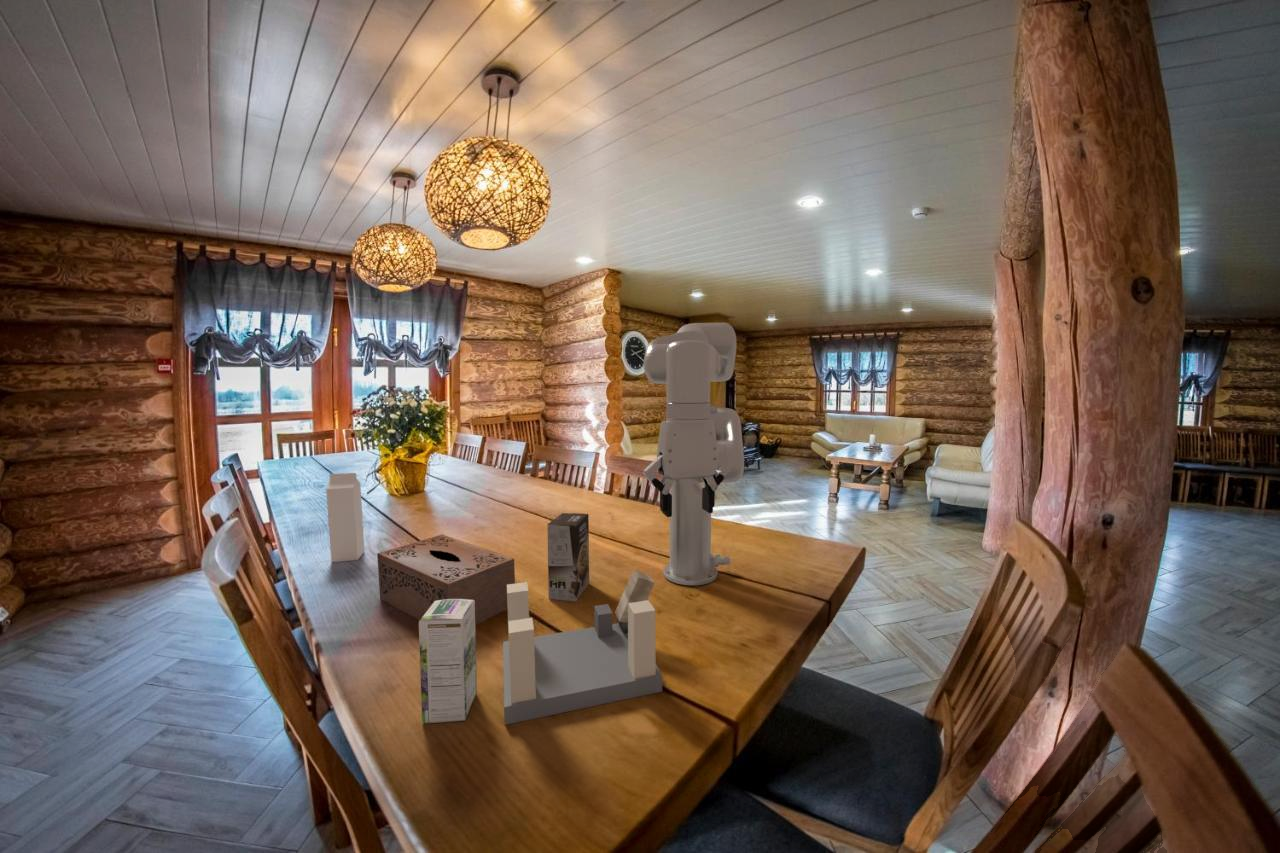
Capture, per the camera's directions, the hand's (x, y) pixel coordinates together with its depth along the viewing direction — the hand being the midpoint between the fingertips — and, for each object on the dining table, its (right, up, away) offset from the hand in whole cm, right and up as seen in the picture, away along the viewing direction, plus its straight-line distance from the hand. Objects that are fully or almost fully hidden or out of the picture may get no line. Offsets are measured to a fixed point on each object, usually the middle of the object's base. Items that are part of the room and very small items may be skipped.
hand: (687, 512), depth 82 cm
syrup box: (-35, -24, -18) cm, 46 cm away
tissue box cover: (-48, -21, +13) cm, 54 cm away
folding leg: (-12, -20, -2) cm, 23 cm away
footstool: (-18, -23, -10) cm, 31 cm away
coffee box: (-24, -21, +18) cm, 36 cm away
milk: (-84, -19, +38) cm, 94 cm away
